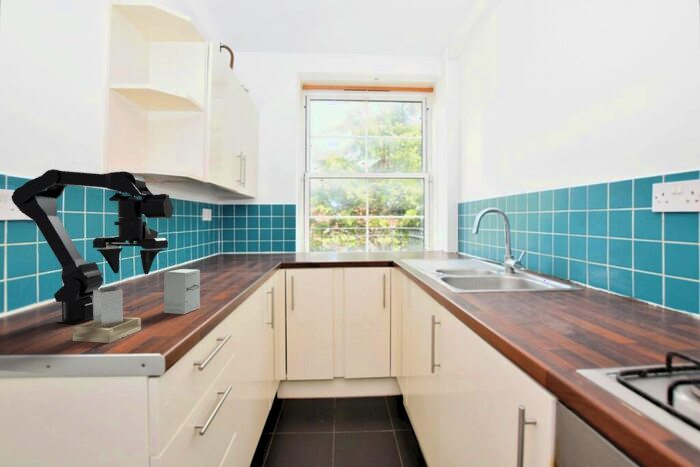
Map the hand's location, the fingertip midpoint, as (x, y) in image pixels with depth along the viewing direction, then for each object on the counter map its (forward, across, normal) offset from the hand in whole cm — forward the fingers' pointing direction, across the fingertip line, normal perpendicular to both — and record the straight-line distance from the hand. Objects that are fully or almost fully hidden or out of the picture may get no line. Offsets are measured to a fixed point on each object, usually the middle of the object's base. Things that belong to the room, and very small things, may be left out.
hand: (131, 273), depth 93 cm
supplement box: (+13, -8, -11) cm, 19 cm away
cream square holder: (+13, -4, +12) cm, 18 cm away
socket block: (+12, -4, +12) cm, 17 cm away
